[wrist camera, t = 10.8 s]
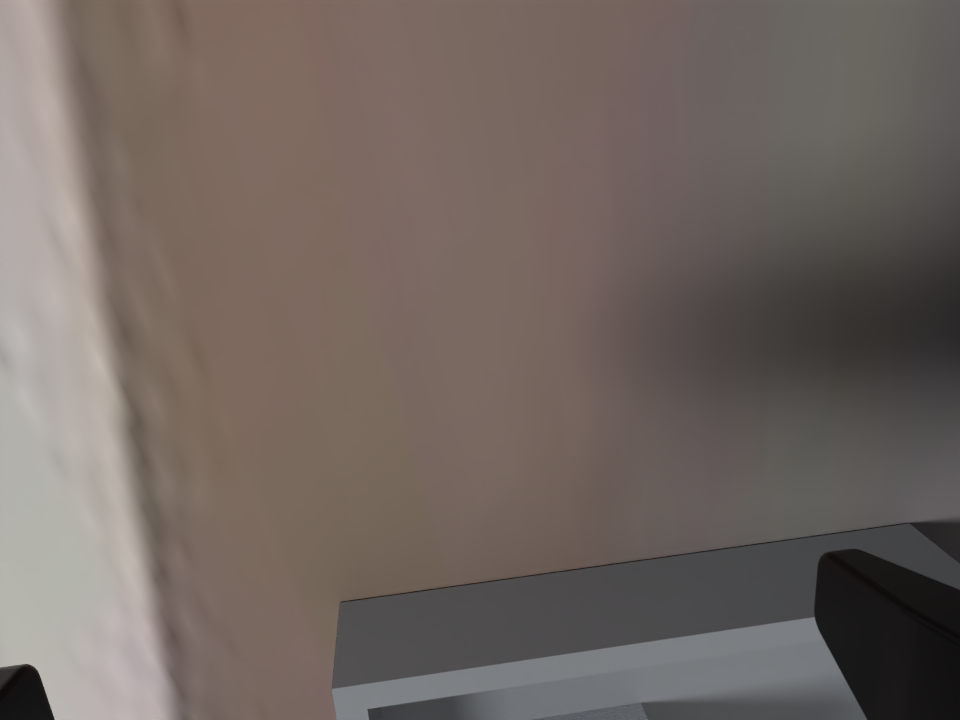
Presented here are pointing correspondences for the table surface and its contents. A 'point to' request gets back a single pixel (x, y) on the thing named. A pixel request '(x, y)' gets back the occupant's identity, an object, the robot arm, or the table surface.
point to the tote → (617, 639)
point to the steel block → (605, 714)
